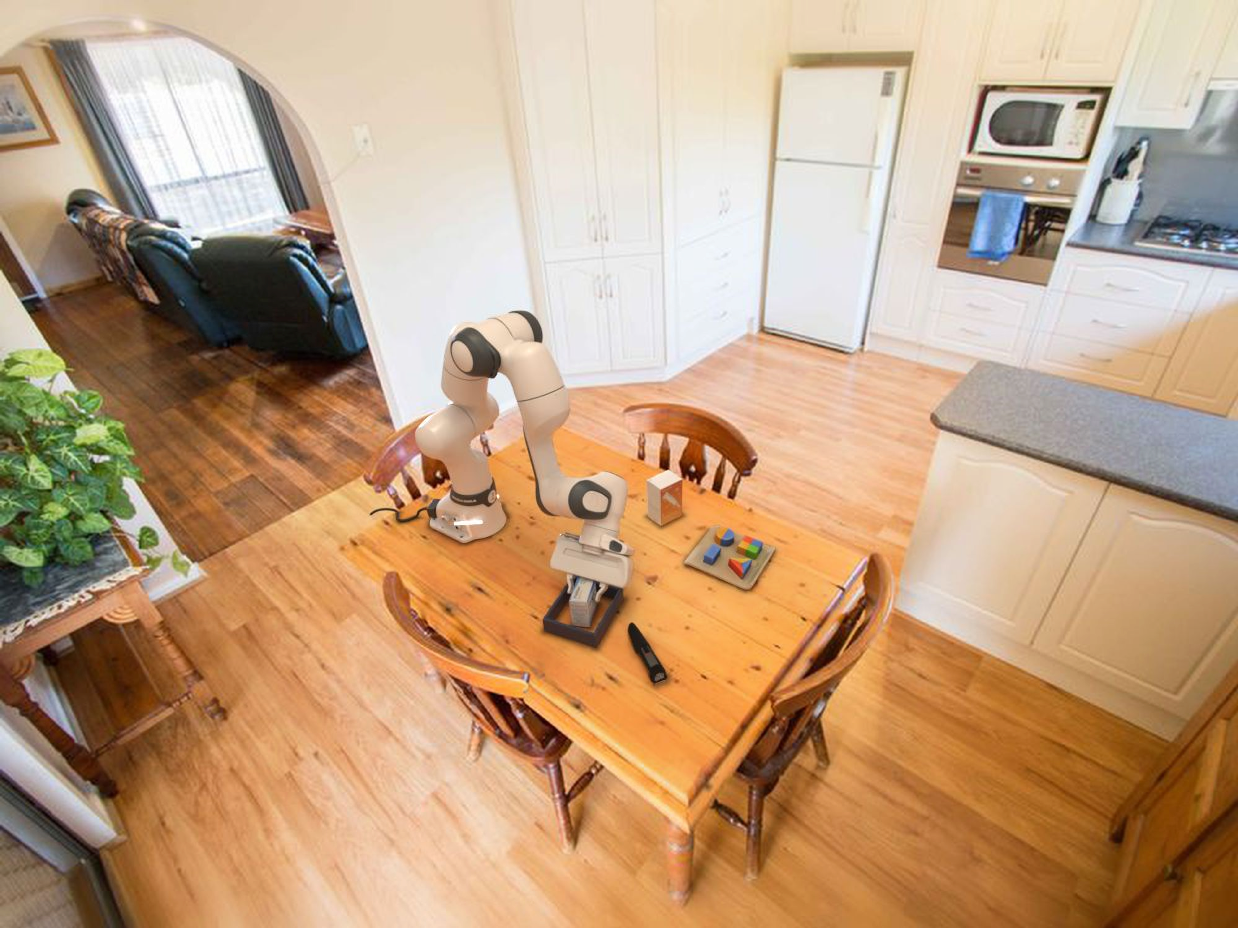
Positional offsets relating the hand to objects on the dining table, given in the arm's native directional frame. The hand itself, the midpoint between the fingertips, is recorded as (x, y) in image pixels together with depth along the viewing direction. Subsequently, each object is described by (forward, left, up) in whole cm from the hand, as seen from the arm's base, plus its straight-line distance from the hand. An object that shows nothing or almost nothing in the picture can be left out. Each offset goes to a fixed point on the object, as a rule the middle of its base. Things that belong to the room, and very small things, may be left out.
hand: (583, 597), depth 143 cm
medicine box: (0, 0, -6) cm, 6 cm away
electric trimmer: (+18, -6, -6) cm, 20 cm away
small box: (+5, +42, -6) cm, 42 cm away
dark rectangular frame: (0, 0, -5) cm, 6 cm away
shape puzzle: (+27, +31, -6) cm, 41 cm away
